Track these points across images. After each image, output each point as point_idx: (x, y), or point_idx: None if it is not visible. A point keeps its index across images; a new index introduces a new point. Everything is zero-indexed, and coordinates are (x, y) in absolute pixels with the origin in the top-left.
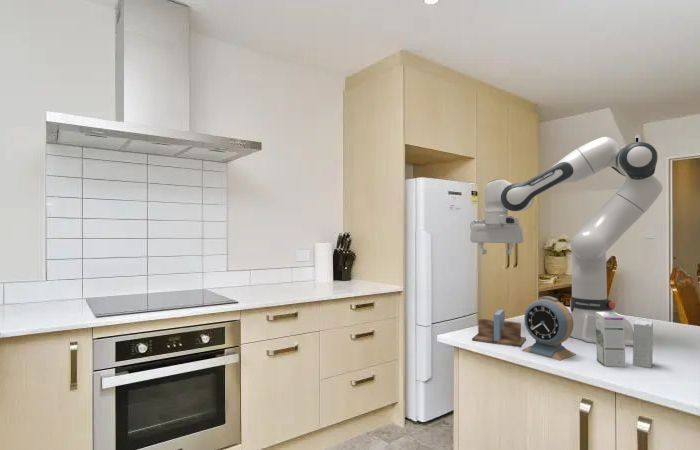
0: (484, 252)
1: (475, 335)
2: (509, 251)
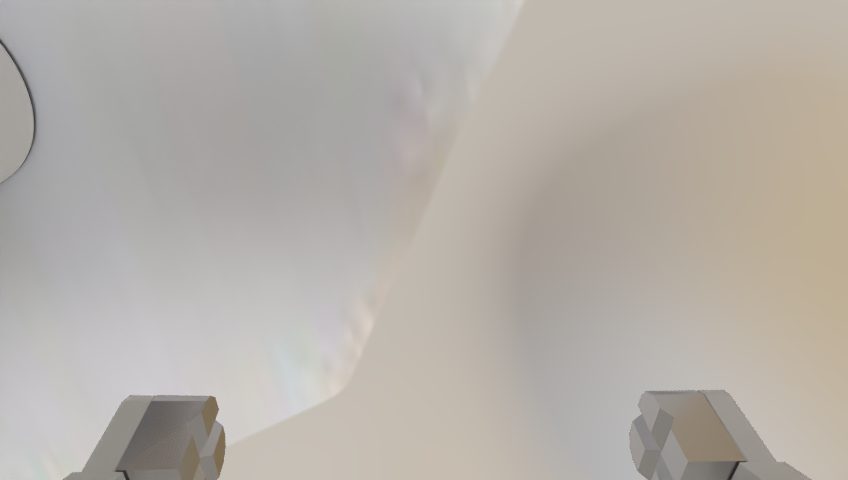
0: (684, 407)
1: None
2: (112, 446)
